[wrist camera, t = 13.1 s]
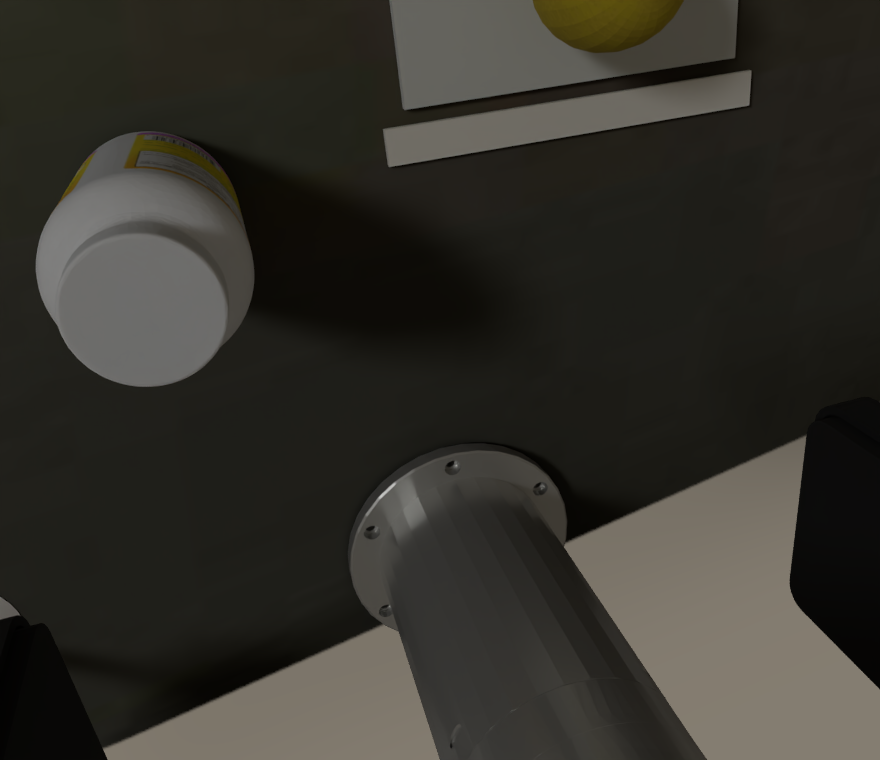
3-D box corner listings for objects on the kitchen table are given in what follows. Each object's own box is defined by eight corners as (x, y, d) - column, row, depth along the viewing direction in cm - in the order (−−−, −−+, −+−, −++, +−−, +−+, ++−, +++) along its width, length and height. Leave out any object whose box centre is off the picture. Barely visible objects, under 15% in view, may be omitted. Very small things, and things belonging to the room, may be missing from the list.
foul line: (745, 104, 39) (749, 105, 39) (388, 165, 36) (389, 167, 35) (747, 70, 38) (751, 70, 38) (382, 128, 35) (384, 130, 35)
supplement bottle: (116, 305, 35) (80, 450, 24) (42, 158, 32) (-40, 245, 21) (262, 255, 36) (294, 372, 25) (204, 106, 33) (210, 164, 21)
